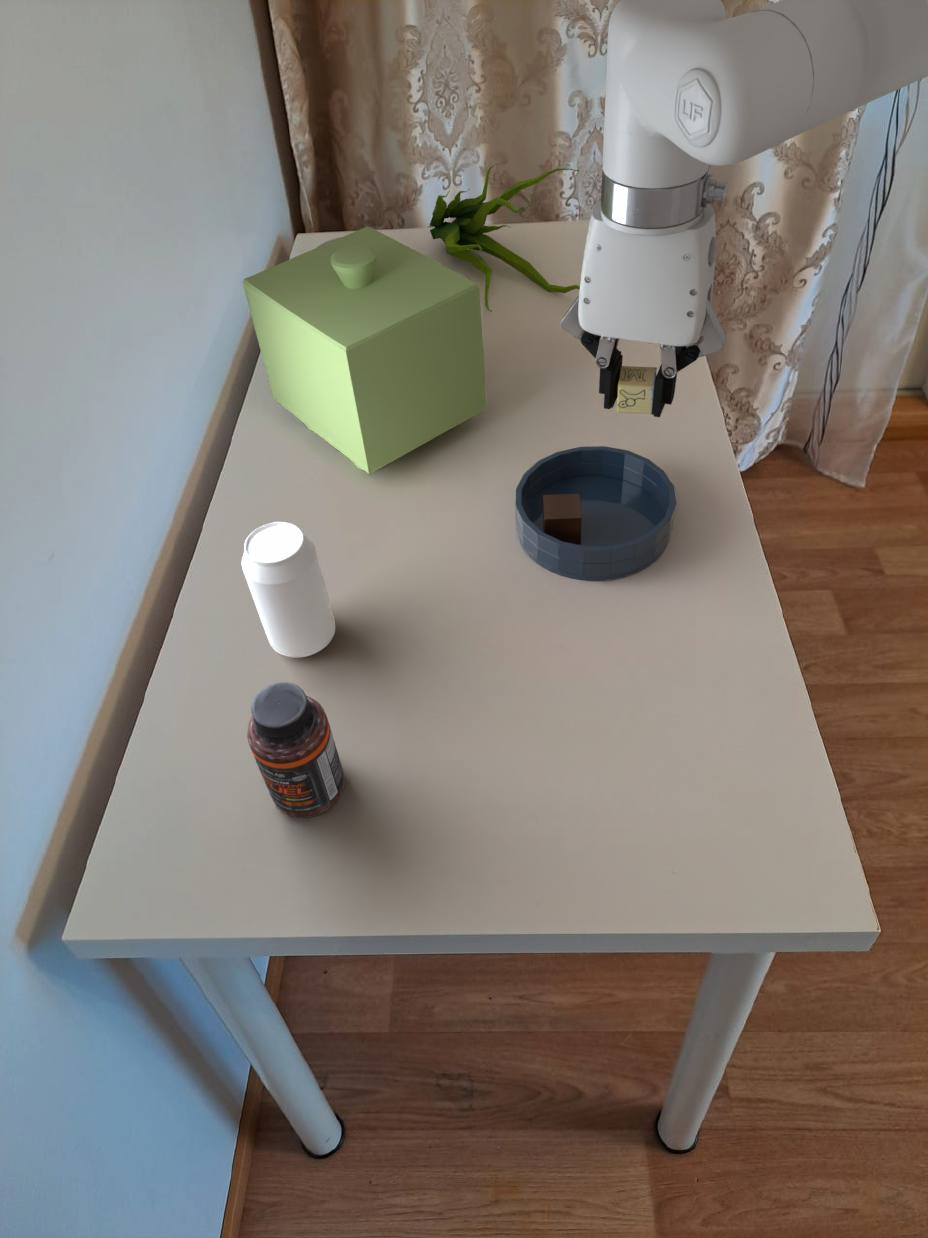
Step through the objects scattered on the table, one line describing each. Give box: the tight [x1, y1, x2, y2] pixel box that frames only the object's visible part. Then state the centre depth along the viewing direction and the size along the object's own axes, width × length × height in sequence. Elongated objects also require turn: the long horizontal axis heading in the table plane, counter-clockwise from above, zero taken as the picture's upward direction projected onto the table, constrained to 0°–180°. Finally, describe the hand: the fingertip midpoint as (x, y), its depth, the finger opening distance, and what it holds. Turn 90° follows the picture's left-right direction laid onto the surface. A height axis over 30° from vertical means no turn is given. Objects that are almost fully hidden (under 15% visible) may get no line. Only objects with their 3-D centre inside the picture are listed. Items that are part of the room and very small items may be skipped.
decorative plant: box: [429, 163, 580, 313], centre depth 118 cm, size 18×30×15 cm, turn 12°
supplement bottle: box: [246, 681, 345, 818], centre depth 68 cm, size 6×6×11 cm
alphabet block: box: [616, 365, 658, 415], centre depth 79 cm, size 3×3×3 cm
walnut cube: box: [543, 494, 582, 545], centre depth 87 cm, size 4×4×4 cm
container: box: [242, 226, 488, 475], centre depth 97 cm, size 19×16×20 cm
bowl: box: [514, 445, 677, 582], centre depth 88 cm, size 15×15×4 cm
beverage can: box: [241, 521, 336, 658], centre depth 78 cm, size 6×6×12 cm
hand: (635, 402), depth 80 cm, fingers closed on alphabet block, 3 cm apart
